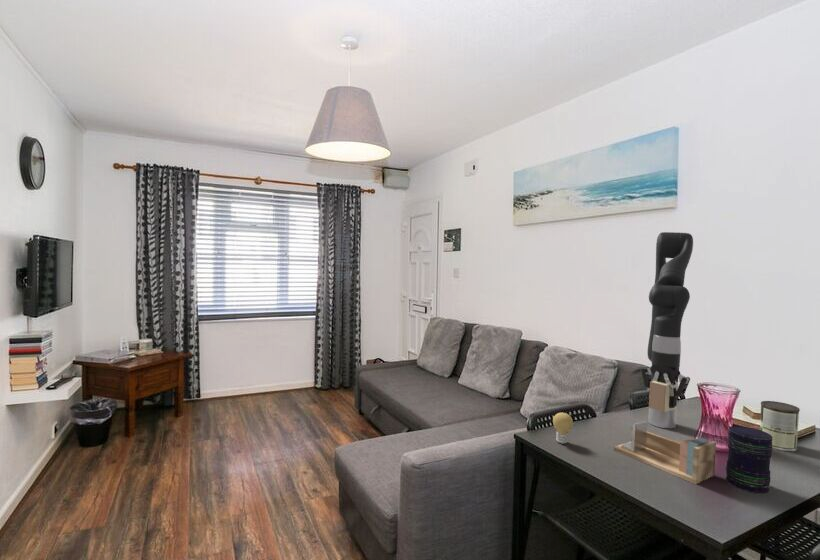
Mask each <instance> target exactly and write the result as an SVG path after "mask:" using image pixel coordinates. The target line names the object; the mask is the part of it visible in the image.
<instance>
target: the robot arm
mask: <svg viewBox="0 0 820 560" xmlns="http://www.w3.org/2000/svg"><path fill="white" fill-rule="evenodd" d="M656 238H657V239H656V246H655V276H654V277H655V278H654V283H653V286H652V287H651V289H650V291H649V292H648V294H649V295H648V301H649V303H650V305H652V306H651V307H652V309H651V323H650V329H649V330H650V332H649V338H648V345H647V359H648V360H649V361H650V362H651V366H650V367H643V368H641V369H640V371H641V374H642V380H643V383H644V387H645V388H648V389H649V390H650V382H652V381H656V382H657V381H658V382H662V383H666V384H669V389H670V391H669V393H670V395H671V396H669V408H674V407H675V406H676V405H677V406H678V397H679V396H683V395H685V393H686V391H687V388H688V387H689V383H690V382H691V378H690V377H689V376H685V375H683V374H681V372H680V366H681V365H680V364H681V352H682V350H681V349H682V341H681V334H682V332H681V330H682V323H683V322H682V321H683V317H684V314H685V311H686V309H687V306H688V304H689V301H690V298H691V295H690V292H689V290H688V289H687V287H685V286H684V285H685V276H686V271H687V267H688V266H689V262H690V260H691V256H692V253H693V250H694V249H693V248H694V237H693V235H692V234H691V233H690V232H676V231H675V232H672V231H671V232H670V231H669V232H668V231H667V232H666V231H665V232H660V233H659V234H658V235H657V237H656ZM667 259H670V260H668V261H667ZM672 383H674V385H671V384H672ZM677 383H678V389H677ZM677 414H678V408H677V409H673V410H669V411H666V412H662V411H659V410H655V409H652V408H649V407H648V417H647V418H648V420H647V421H648V424H650V425H652V426H654V427H657V428H662V429H675V428H676V426H677V418H678V417H677Z"/></svg>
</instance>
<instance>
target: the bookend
mask: <svg viewBox="0 0 820 560" xmlns="http://www.w3.org/2000/svg"><path fill="white" fill-rule="evenodd" d="M648 424H649V422H648V420H642V421H638V422H635V423H632V427H633V432H632V442H631V441H629V442H630V443H628V442H626V443H627V444H624V443H622V444H623V445H621V444H620V445H621V447H622V448H624V449H627V450H629V451H631V452H637V451H640V450H643V449H646V442H647V432H648Z"/></svg>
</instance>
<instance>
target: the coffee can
mask: <svg viewBox="0 0 820 560" xmlns="http://www.w3.org/2000/svg"><path fill="white" fill-rule="evenodd" d="M800 411H801V409H800V407H798V406H796V405H793V404H789V403H785V402H782V401H781V402H780V401H775V400H763V401H762V400H761V401H760V418H759V419H760V421H759V430H761V431H764V432H766V433H768V434H770V435H771V436H772V437H773V439H772V449H774V450H778V451H783V452H785V451H786V452H795V451H798V434H799V418H800Z"/></svg>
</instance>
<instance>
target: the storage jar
mask: <svg viewBox="0 0 820 560" xmlns="http://www.w3.org/2000/svg"><path fill="white" fill-rule="evenodd" d="M772 439H773V437H772V436H771V435H770V434H768V433H766V432H764V431H761V430H760V429H757V428H754V427H749V426H741V425H732V426H729V427H728V435H727V444H726V445H727V448H728V452H727V453H728V454H727V460H726V466H725V471H726V472H725V481H726V483H728V484H729V485H730V486H732V487H734V488H736V489H738V490H740V491H741V490H742V491H745V492H747V493H752V494H759V495H763V494H764V495H765V494H768V493H769V492H770V484H771V478H772V477H771V470H770V469H771V467H770V464H771V458H772V455H773V448H772Z"/></svg>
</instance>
